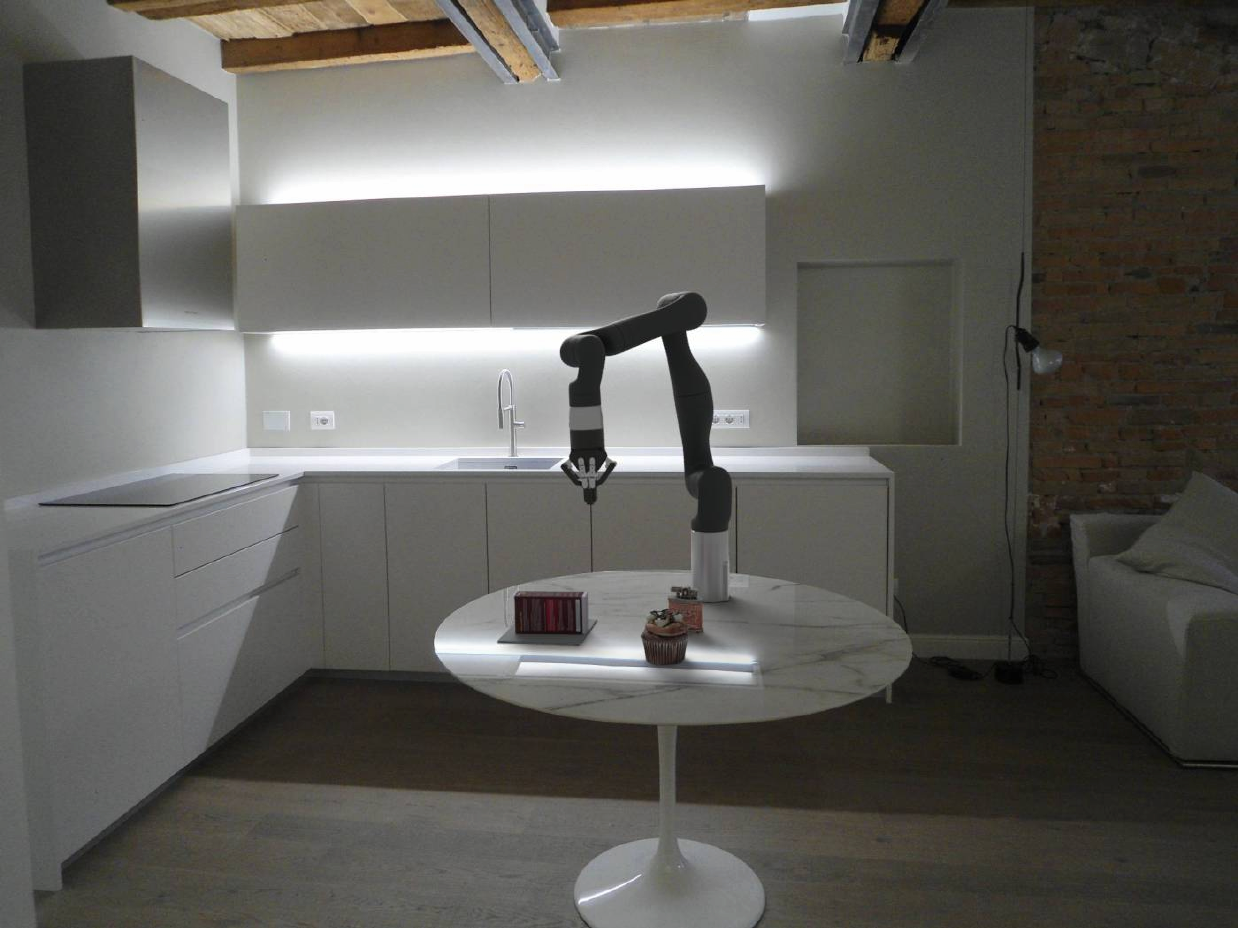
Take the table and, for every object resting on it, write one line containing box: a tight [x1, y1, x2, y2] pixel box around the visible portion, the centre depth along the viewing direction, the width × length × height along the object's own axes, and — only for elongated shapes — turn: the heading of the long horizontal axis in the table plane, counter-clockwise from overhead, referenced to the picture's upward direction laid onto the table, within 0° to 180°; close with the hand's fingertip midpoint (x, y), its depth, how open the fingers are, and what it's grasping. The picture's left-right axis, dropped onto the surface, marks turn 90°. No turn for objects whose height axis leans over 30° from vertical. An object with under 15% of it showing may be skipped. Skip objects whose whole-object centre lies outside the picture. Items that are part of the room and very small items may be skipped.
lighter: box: [667, 585, 704, 635], centre depth 205 cm, size 8×3×10 cm, turn 65°
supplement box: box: [513, 590, 589, 634], centre depth 205 cm, size 9×5×16 cm
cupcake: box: [640, 608, 690, 666], centre depth 187 cm, size 10×10×10 cm
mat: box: [496, 618, 598, 646], centre depth 207 cm, size 18×18×1 cm
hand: (590, 504), depth 208 cm, fingers closed
